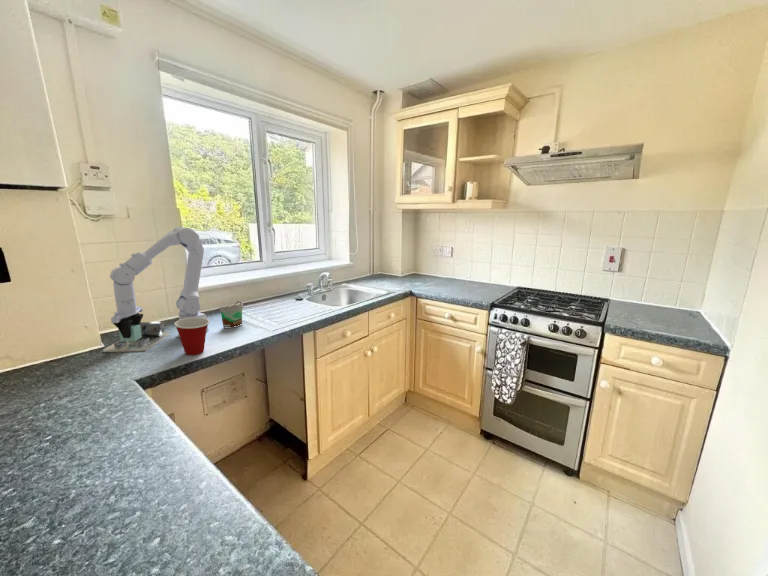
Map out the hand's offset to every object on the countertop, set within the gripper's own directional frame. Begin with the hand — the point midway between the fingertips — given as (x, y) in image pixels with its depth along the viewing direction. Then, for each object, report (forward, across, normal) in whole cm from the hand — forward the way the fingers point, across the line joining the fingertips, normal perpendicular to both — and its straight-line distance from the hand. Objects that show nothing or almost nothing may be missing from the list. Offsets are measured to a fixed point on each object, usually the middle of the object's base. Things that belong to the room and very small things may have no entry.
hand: (130, 335), depth 118 cm
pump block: (+2, 0, 0) cm, 2 cm away
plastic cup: (+5, +7, +25) cm, 26 cm away
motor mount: (+4, -4, 0) cm, 6 cm away
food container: (+5, -23, +30) cm, 38 cm away
